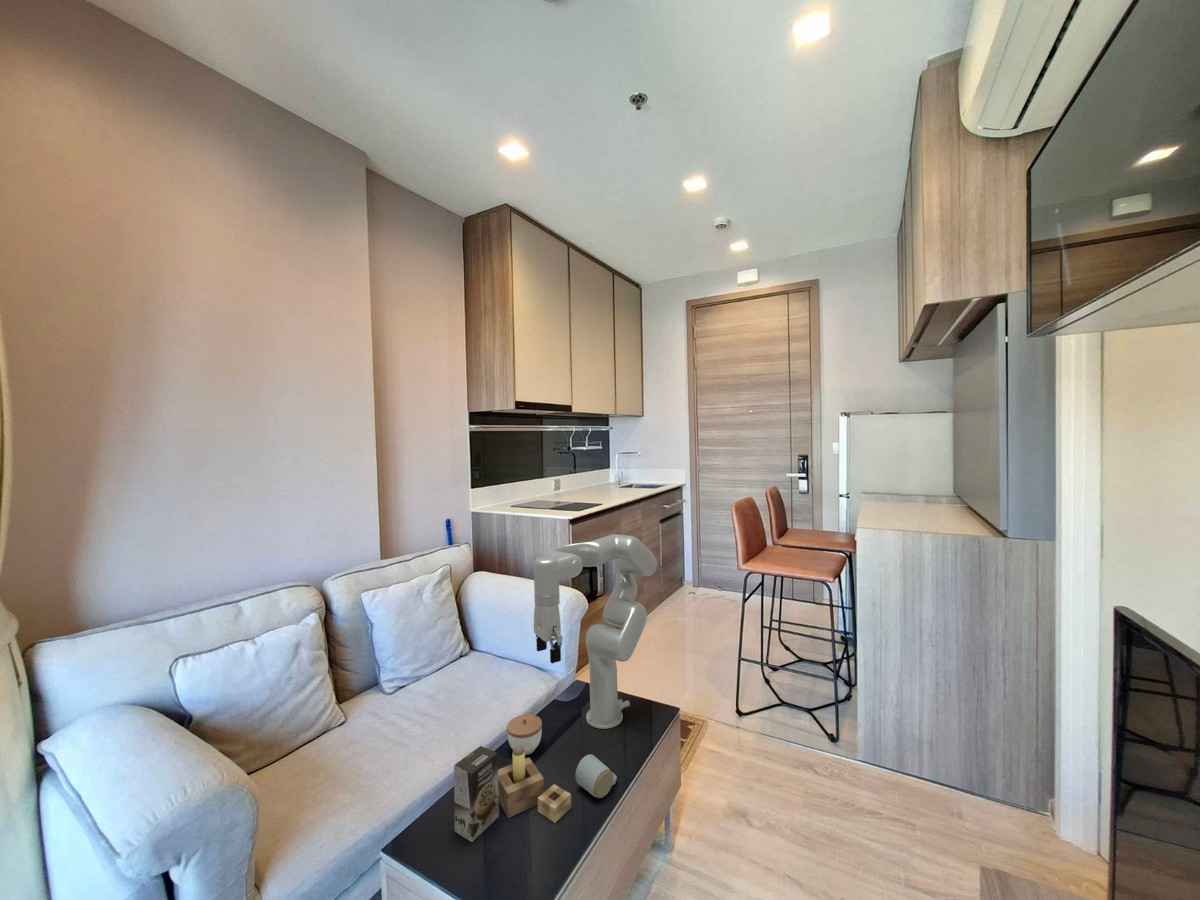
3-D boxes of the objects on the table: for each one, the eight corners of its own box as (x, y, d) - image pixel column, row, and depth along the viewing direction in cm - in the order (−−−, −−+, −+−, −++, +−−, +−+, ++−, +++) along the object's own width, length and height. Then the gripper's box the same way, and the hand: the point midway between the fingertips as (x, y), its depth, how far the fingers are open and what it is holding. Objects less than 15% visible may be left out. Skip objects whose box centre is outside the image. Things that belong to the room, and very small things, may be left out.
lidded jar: (546, 738, 145) (545, 709, 145) (538, 761, 135) (537, 729, 135) (513, 737, 146) (512, 708, 147) (502, 759, 136) (502, 728, 136)
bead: (529, 778, 127) (529, 757, 127) (544, 801, 119) (543, 778, 119) (494, 793, 122) (494, 771, 122) (508, 818, 114) (507, 794, 114)
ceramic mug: (595, 806, 117) (595, 775, 117) (574, 789, 123) (574, 761, 123) (623, 785, 124) (623, 757, 124) (602, 771, 130) (602, 743, 130)
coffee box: (472, 843, 107) (470, 774, 107) (453, 832, 110) (452, 764, 110) (500, 816, 114) (498, 752, 114) (482, 806, 118) (480, 744, 118)
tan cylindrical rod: (511, 796, 121) (510, 745, 121) (523, 791, 123) (521, 740, 123) (516, 803, 118) (514, 751, 119) (527, 798, 120) (526, 747, 120)
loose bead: (554, 797, 120) (554, 784, 120) (571, 807, 116) (570, 794, 117) (537, 811, 116) (537, 797, 116) (554, 823, 112) (554, 808, 112)
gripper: (524, 594, 142) (525, 648, 142) (547, 609, 128) (549, 670, 127) (546, 589, 146) (547, 643, 146) (571, 604, 132) (573, 663, 131)
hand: (548, 655), depth 137 cm, fingers open, 9 cm apart
